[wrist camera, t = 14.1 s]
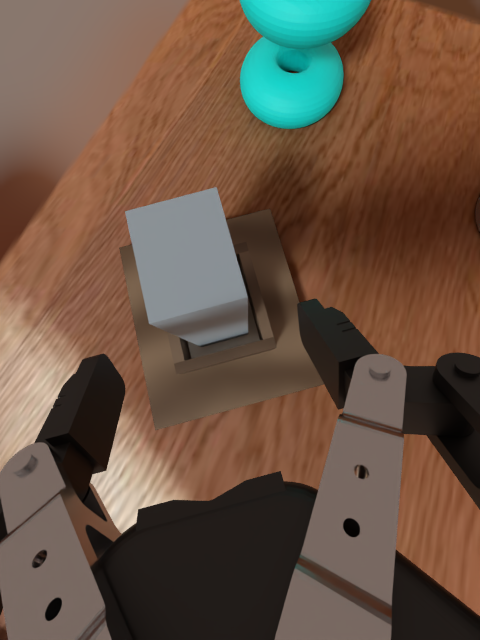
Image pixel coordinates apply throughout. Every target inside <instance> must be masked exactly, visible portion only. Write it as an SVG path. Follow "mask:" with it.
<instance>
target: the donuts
mask: <svg viewBox="0 0 480 640" xmlns="http://www.w3.org/2000/svg"><path fill="white" fill-rule="evenodd" d="M370 2H371V0H240V3H241V6H242V9H243V11H244V13H245V15H246V17H247V19H248V20H249V22H250V23H251V25H252V26H253V27H254V28H255V29H256V31H258V32H259V33H260V34H261V35H262V36H264V37H262V38H261V39H260V40H258V41H257V42H256V43H255V44H254V45H253V47H252V48H251V49H250V51H249V52H248V54H247V55H246V57H245V60H244V62H243V65H242V68H241V74H240V87H241V92H242V96H243V99H244V101H245V103H246V105H247V107H248V108H249V110H250V111H251V112H252V113H253V114H254V115H255V116H256V117H257V118H258V119H260V120H261V121H263V122H264V123H266V124H269V125H271V126H274V127H278V128H283V129H296V128H302V127H305V126H308V125H311V124H313V123H315V122H317V121H319V120H320V119H321V118H323V117H324V116H325V115H326V114H327V113H328V112H329V111H330V110H331V109H332V108H333V106H334V105H335V103H336V102H337V100H338V98H339V95H340V93H341V90H342V86H343V78H344V73H343V65H342V61H341V58H340V56H339V53H338V51H337V50H336V48H335V47H334V46H333V44H332V43H331V42H333V41H335V40H337V39H338V38H340V37H342V36H343V35H344V34H346V33H347V32H348V31H349V30H350V29H351V28H353V27H354V26H355V25H356V24H357V22H358V21H359V20H360V19H361V17H362V16H363V14H364V13H365V11H366V10H367V8H368V6H369V4H370ZM286 71H296V72H299V73H289V72H286Z"/></svg>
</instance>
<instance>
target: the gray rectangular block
mask: <svg viewBox="0 0 480 640" xmlns="http://www.w3.org/2000/svg"><path fill="white" fill-rule="evenodd" d="M125 213H126V218H127V222H128V227H129V232H130V237H131V241H132V246H133V251H134V255H135V260H136V265H137V269H138V274H139V279H140V283H141V288H142V293H143V297H144V302H145V307H146V312H147V316H148V321H149V324H151V325H153V326H155V327H157V328H160V329H162V330H164V331H166V332H169V333H171V334H173V335H175V336H178V337H180V338H182V339H184V340H186V341H189V342H191V343H193V344H195V345H198V346H200V347H204V346H207V345H211V344H215V343H218V342H222V341H226V340H229V339H233V338H236V337H240V336H244V335H247V334H248V296H247V293H246V289H245V286H244V282H243V279H242V275H241V272H240V268H239V265H238V261H237V258H236V254H235V251H234V247H233V243H232V240H231V236H230V233H229V229H228V226H227V222H226V219H225V215H224V212H223V208H222V205H221V201H220V198H219V194H218V191H217V187H216V188H212V189H208V190H204V191H201V192H197V193H193V194H189V195H185V196H182V197H178V198H174V199H170V200H166V201H163V202H159V203H155V204H151V205H147V206H144V207H140V208H136V209H132V210H128V211H125Z"/></svg>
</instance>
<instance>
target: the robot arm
mask: <svg viewBox="0 0 480 640" xmlns="http://www.w3.org/2000/svg"><path fill="white" fill-rule="evenodd" d="M475 213H476V223H477V226H478V230H479V232H480V197H479V199H478V201H477V205H476V209H475ZM297 311H298V321H299V331H300V337H301V341H302V343H303V346H304V348H305V350H306V352H307V353H308V355H309V357H310V359H311V361H312V362H313V364H314V366H315V368H316V370H317V372H318V373H319V375H320V377H321V379H322V381H323V383H324V384H325V386H326V388H327V390H328V392H329V393H330V395H331V397H332V399H333V401H334V403H335V404H336V406H337V408H338V409H342V408H344V409H343V413H342V415H341V414H340V415H339V417H338V420H337V423H336V427H335V430H334V434H333V438H332V441H331V445H330V449H329V452H328V456H327V460H326V464H325V467H324V471H323V475H322V478H321V482H320V486H319V489H318V490H317V489H315V488H313V487H310V486H308V485H304V484H301V483H296V482H283V478H282V474H281V471H279V472H275V473H272V474H268V475H264V476H261V477H257V478H253V479H250V480H246V481H244V482H242V483H241V484H239V485H237V486H236V487H234V488H232V489H230V490H229V491H227V492H225V493H224V494H222V495H220V496H218V497H217V498H215V499H213V500H210V501H188V500H172V501H168V502H164V503H161V504H157V505H153V506H149V507H146V508H142V509H138V516H137V523H136V524H134V525H133V526H132V527H130V528H129V529H127V530H126V531H125V532H124V533H123V534H121V533H120V532H119V530H118V529H117V528H116V526H115V525H114V523H113V521H112V519H111V517H110V516H109V514H108V512H107V510H106V508H105V506H104V504H103V502H102V501H101V499H100V497H99V495H98V493H97V491H96V489H95V488H94V486H93V485H92V484H91V483H90V480H91V477H92V474H95V473H99V472H103V471H106V469H107V465H108V461H109V457H110V453H111V449H112V445H113V441H114V437H115V433H116V429H117V424H118V420H119V416H120V412H121V408H122V404H123V400H124V396H125V384H124V381H123V379H122V377H121V376H120V374H119V373H118V371H117V370H116V368H115V367H114V365H113V364H112V362H111V361H110V359H109V358H108V357H107V356H106V355H105V354H100V355H96V356H92V357H89V358H85V359H83V360H82V362H81V364H80V366H79V368H78V370H77V372H76V374H73V375H72V376H71V377H70V379H69V380H68V381H67V382H66V383H65V384H64V385H63V387H62V389H61V391H60V393H59V395H58V399H56V401H55V403H54V405H53V409H51V411H50V413H49V415H48V417H47V419H46V421H45V423H44V425H43V427H42V429H41V431H40V433H39V435H38V437H37V439H36V441H35V443H34V444H31V445H29V446H27V447H25V448H23V449H22V450H20V451H19V452H18V453H16V454H15V455H14V456H13V457H12V458H11V459H10V460H9V461H8V462H7V463H6V465H5V466H4V467H3V469H2V471H1V472H0V615H1V612H2V609H3V610H4V616H5V623H6V629H7V636H8V640H480V616H479V615H477V614H476V613H475V612H474V611H472V610H471V609H470V608H469V607H467V606H466V605H465V604H464V603H462V602H461V601H460V600H459V599H457V598H456V597H455V596H454V595H452V594H451V593H450V592H449V591H447V590H446V589H445V588H444V587H442V586H441V585H440V584H439V583H437V582H436V581H435V580H434V579H432V578H431V577H430V576H428V575H427V574H426V573H425V572H423V571H422V570H421V569H420V568H418V567H417V566H416V565H415V564H413V563H412V562H411V561H410V560H408V559H407V558H406V557H405V556H403V555H402V554H401V553H400V552H398V551H397V550H396V537H397V524H398V511H399V497H400V484H401V471H402V457H403V444H404V434H418V435H427V437H428V438H429V439H430V441H431V442H432V444H433V445H434V446H435V448H436V449H437V451H438V452H439V453H440V455H441V456H442V458H443V459H444V460H445V462H446V463H447V465H448V466H449V467H450V469H451V470H452V471H453V473H454V474H455V476H456V477H457V478H458V480H459V481H460V483H461V484H462V485H463V487H464V488H465V490H466V491H467V492H468V494H469V495H470V497H471V498H472V499H473V501H474V502H475V503H476V505H477V506H478V508H479V509H480V358H479V357H477V356H474V355H470V354H465V353H449V354H445V355H443V356H441V357H440V358H439V359H438V360H437V363H436V366H403V365H402V364H401V363H400V362H399V361H398V360H396V359H394V358H392V357H390V356H387V355H383V354H379V353H378V352H377V351H376V350H375V349H374V348H373V346H372V345H371V344H370V343H369V342H368V341H367V340H366V338H365V337H364V336H363V335H362V334H361V333H360V332H359V330H358V329H356V327H355V326H354V325H353V324H352V322H350V320H349V319H348V318H347V317H346V316H345V314H344V313H343V312H341V311H339V310H337V309H335V308H333V307H330V308H326V309H324V307H323V306H322V305H321V304H320V302H319V301H318V300H317V299H312V300H308V301H304V302H300V303H298V304H297Z"/></svg>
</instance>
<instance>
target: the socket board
mask: <svg viewBox="0 0 480 640" xmlns="http://www.w3.org/2000/svg"><path fill="white" fill-rule="evenodd" d="M226 222H227V226H228V229H229V233H230V236H231V240H232V243H233V247H234V251H235V254H236V258H237V261H238V265H239V268H240V272H241V275H242V279H243V282H244V286H245V289H246V293H247V296H248V334H247V335H244V336H240V337H236V338H233V339H229V340H226V341H222V342H218V343H215V344H211V345H207V346H204V347H200V346H198V345H195V344H193V343H191V342H189V341H186V340H184V339H182V338H180V337H178V336H175V335H173V334H171V333H169V332H166V331H164V330H162V329H160V328H157V327H155V326H153V325H151V324H149V321H148V316H147V312H146V307H145V302H144V297H143V293H142V288H141V283H140V279H139V274H138V269H137V265H136V260H135V255H134V251H133V246H132V245H128V246H124V247H120V248H119V249H120V254H121V259H122V264H123V269H124V274H125V279H126V284H127V289H128V294H129V299H130V304H131V309H132V314H133V319H134V325H135V330H136V335H137V340H138V345H139V350H140V355H141V360H142V365H143V370H144V375H145V380H146V385H147V390H148V395H149V400H150V405H151V410H152V415H153V421H154V426H155V430H158V429H161V428H165V427H169V426H172V425H176V424H180V423H183V422H187V421H191V420H195V419H198V418H202V417H206V416H209V415H213V414H217V413H220V412H224V411H228V410H231V409H235V408H239V407H242V406H246V405H250V404H253V403H257V402H261V401H264V400H268V399H272V398H275V397H279V396H283V395H286V394H290V393H294V392H297V391H301V390H305V389H308V388H312V387H316V386H319V385H323V384H324V383H323V381H322V379H321V377H320V375H319V373H318V372H317V370H316V368H315V366H314V364H313V362H312V361H311V359H310V357H309V355H308V353H307V352H306V350H305V348H304V346H303V343H302V341H301V337H300V331H299V321H298V311H297V304H298V303H300V302H299V299H298V296H297V293H296V290H295V286H294V283H293V280H292V277H291V274H290V271H289V267H288V264H287V261H286V258H285V255H284V251H283V248H282V245H281V242H280V239H279V236H278V232H277V229H276V226H275V223H274V220H273V216H272V213H271V210H270V209H266V210H262V211H258V212H254V213H251V214H247V215H243V216H239V217H235V218H231V219H228V220H226Z"/></svg>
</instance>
